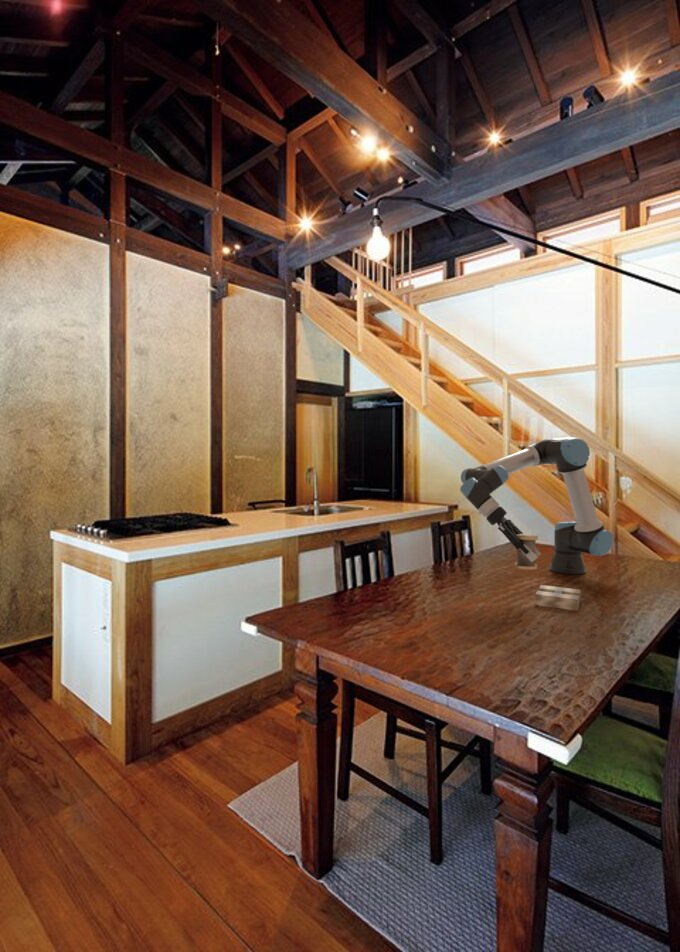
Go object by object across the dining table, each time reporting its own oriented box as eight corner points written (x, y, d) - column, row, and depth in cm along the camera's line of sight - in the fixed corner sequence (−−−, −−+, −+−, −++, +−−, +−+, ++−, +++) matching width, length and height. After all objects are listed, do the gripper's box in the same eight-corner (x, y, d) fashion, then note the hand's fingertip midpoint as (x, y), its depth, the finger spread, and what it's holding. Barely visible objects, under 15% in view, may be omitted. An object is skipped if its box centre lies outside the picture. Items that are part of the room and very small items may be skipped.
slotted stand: (535, 604, 182) (535, 594, 182) (540, 595, 194) (540, 584, 194) (577, 610, 175) (577, 599, 175) (580, 600, 187) (580, 589, 187)
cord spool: (510, 565, 191) (510, 534, 190) (525, 563, 194) (526, 533, 194) (526, 570, 184) (526, 538, 183) (541, 568, 187) (542, 536, 186)
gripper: (491, 515, 204) (533, 559, 197) (479, 521, 187) (523, 569, 180) (505, 502, 201) (547, 547, 194) (493, 508, 184) (539, 556, 177)
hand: (536, 557), depth 187 cm, fingers closed on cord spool, 6 cm apart
